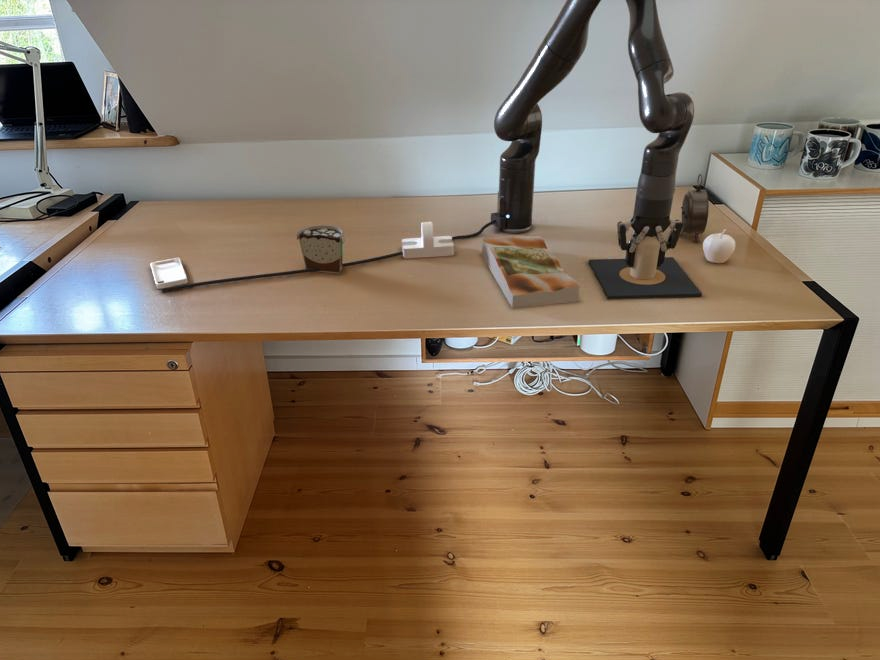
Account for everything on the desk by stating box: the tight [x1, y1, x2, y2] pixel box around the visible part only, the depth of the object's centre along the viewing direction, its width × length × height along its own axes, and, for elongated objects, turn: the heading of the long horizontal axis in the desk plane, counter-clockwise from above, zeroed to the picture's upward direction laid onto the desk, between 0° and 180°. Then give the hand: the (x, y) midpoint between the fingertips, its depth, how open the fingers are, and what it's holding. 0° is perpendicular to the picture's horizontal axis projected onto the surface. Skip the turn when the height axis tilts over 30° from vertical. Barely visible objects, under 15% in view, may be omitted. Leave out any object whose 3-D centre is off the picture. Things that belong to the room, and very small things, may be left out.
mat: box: [588, 256, 703, 300], centre depth 153 cm, size 20×20×1 cm
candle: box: [630, 236, 660, 280], centre depth 150 cm, size 6×6×10 cm
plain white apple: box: [702, 228, 736, 264], centre depth 158 cm, size 7×7×8 cm
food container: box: [296, 224, 346, 275], centre depth 165 cm, size 12×6×10 cm, turn 71°
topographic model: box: [481, 235, 580, 309], centre depth 156 cm, size 30×14×5 cm, turn 7°
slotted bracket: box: [401, 221, 455, 259], centre depth 171 cm, size 13×7×8 cm, turn 93°
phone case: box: [150, 257, 189, 290], centre depth 167 cm, size 7×1×15 cm
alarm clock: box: [680, 173, 710, 243], centre depth 170 cm, size 11×5×16 cm, turn 168°
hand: (643, 265), depth 152 cm, fingers closed on candle, 5 cm apart
